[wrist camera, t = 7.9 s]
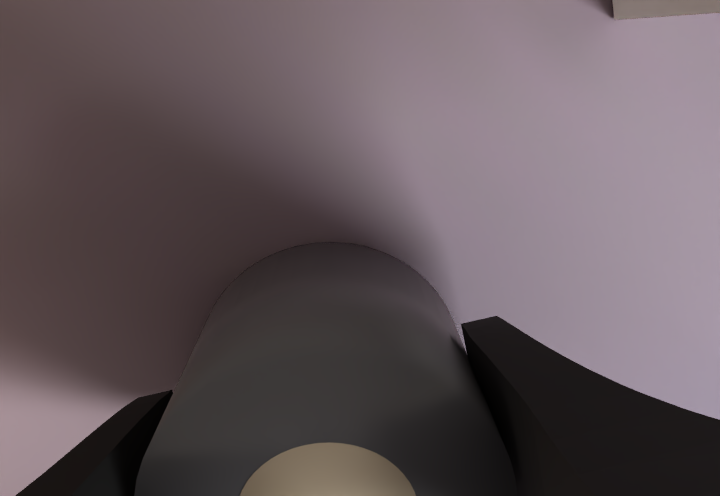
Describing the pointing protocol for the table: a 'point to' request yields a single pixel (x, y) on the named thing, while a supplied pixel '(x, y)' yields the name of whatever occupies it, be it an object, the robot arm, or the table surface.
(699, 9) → the box
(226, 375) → the ball-topped grey cylinder
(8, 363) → the table surface
